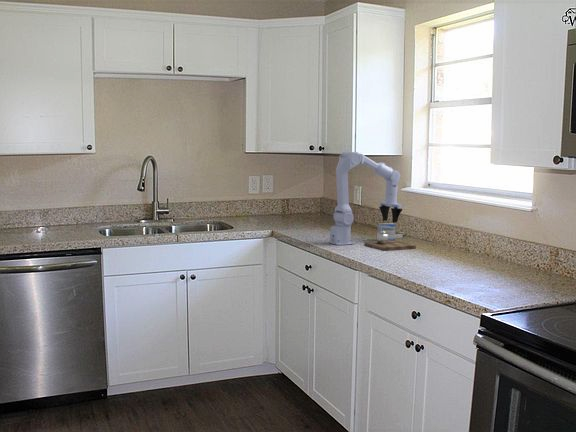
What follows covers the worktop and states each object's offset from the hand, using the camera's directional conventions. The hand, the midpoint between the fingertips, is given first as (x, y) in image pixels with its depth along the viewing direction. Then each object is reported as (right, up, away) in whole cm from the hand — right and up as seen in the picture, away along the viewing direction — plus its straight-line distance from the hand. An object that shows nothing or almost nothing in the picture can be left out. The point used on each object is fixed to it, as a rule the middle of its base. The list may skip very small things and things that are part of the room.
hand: (389, 221), depth 327 cm
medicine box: (-2, -10, +3) cm, 10 cm away
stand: (-3, -12, -16) cm, 20 cm away
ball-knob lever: (-2, -10, -13) cm, 17 cm away
